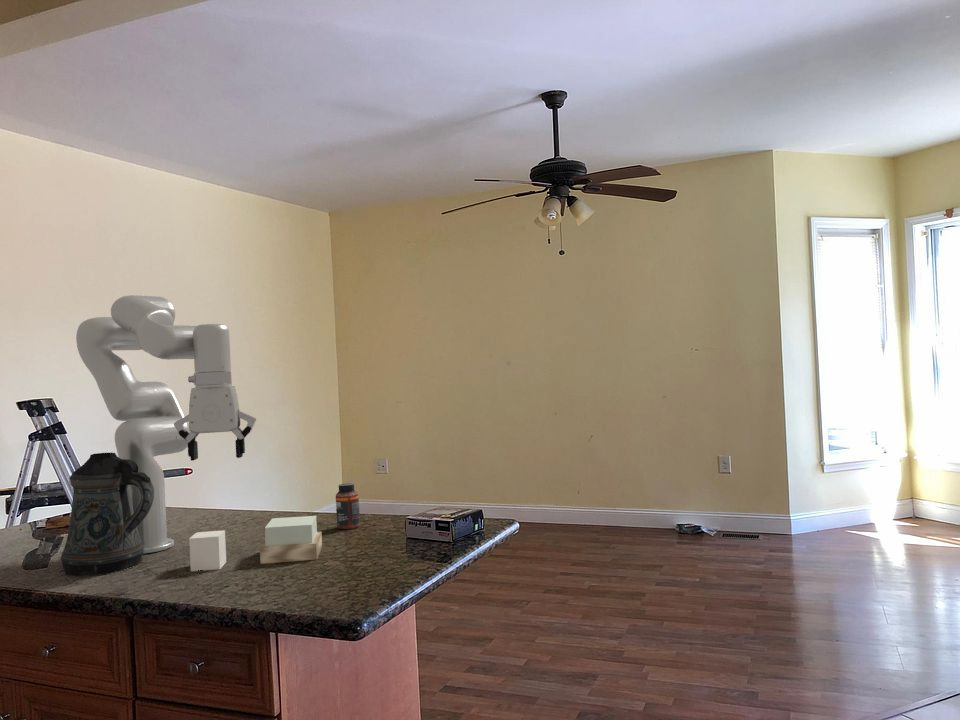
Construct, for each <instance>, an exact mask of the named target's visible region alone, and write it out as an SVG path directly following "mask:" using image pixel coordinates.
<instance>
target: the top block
mask: <svg viewBox="0 0 960 720" xmlns="http://www.w3.org/2000/svg"><path fill="white" fill-rule="evenodd" d="M317 532H318V527H317V515H308V516H307V515H305V516H293V517H292V516H288V517H275V518H271V519H270V521H269V522H268V523H267V525H266V526H265V527H264V538H265V540H264V541H265V545H266V546H274V545H289V544H305V543H313V540H314V538H315V536H316V534H317Z"/></svg>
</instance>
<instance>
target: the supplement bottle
mask: <svg viewBox="0 0 960 720" xmlns="http://www.w3.org/2000/svg"><path fill="white" fill-rule="evenodd" d="M335 511H336V515H335V516H336V526H337V529H339V530H353V529H356V528H359V526H361V517H360V502H359V493H358V492H357V491H356V490H355V483H353V482H344V483H343V482H342V483H339V484H338V491H337V493H336V494H335Z"/></svg>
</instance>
